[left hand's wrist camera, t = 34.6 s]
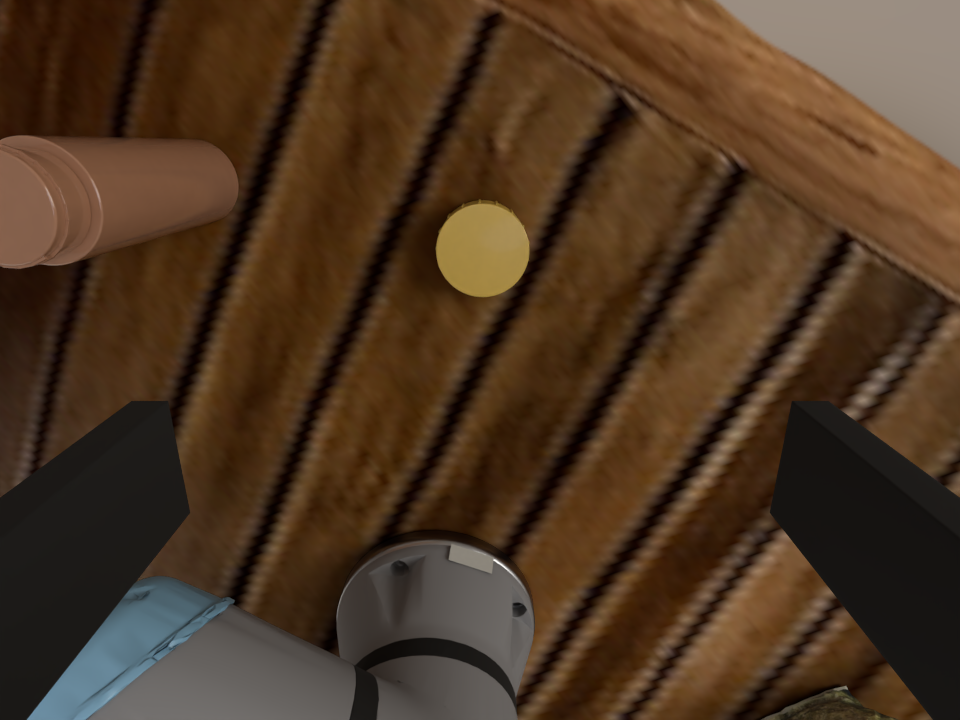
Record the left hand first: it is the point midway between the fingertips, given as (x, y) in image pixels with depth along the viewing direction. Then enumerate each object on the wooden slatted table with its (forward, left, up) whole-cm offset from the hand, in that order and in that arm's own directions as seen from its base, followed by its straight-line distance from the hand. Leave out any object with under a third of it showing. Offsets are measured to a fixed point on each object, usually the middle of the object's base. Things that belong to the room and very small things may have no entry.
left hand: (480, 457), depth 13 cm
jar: (-3, +17, -26) cm, 32 cm away
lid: (0, 0, -24) cm, 24 cm away
